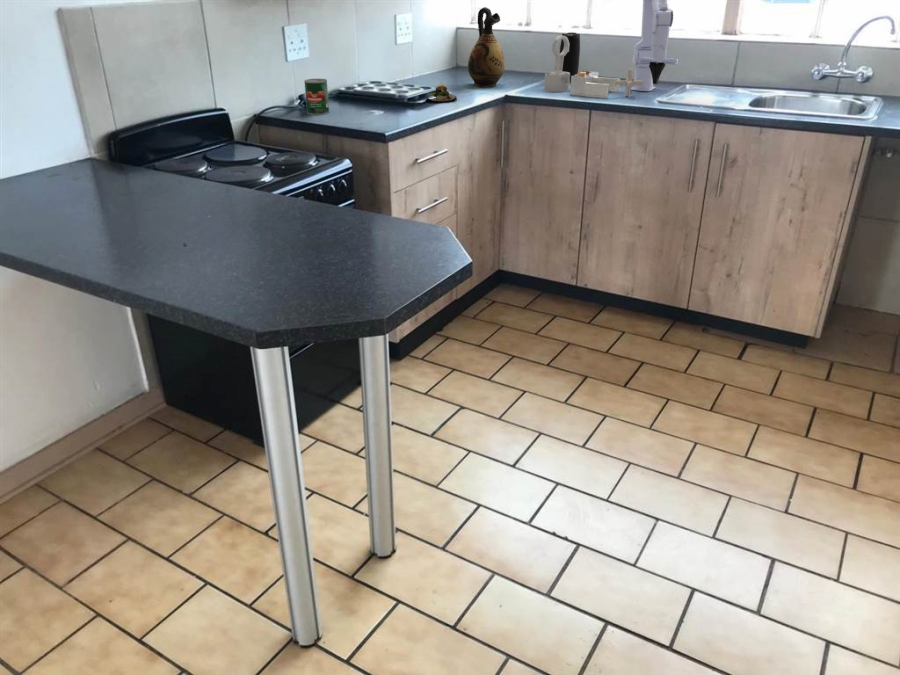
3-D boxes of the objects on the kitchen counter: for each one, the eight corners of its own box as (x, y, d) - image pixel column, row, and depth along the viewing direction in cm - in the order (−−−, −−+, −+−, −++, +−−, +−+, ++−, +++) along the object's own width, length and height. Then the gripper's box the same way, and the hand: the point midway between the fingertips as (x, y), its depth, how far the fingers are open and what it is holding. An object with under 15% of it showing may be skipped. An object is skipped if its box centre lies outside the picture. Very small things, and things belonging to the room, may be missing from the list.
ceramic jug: (511, 86, 312) (514, 8, 298) (482, 89, 304) (483, 10, 290) (487, 80, 324) (488, 5, 310) (458, 84, 316) (458, 7, 302)
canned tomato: (310, 115, 261) (307, 82, 256) (304, 111, 267) (301, 79, 262) (332, 113, 264) (329, 81, 258) (326, 109, 270) (323, 77, 265)
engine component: (539, 89, 304) (557, 92, 298) (541, 35, 295) (560, 37, 288) (556, 86, 311) (575, 89, 304) (560, 33, 301) (579, 35, 294)
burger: (420, 102, 282) (420, 82, 278) (432, 97, 292) (432, 77, 288) (450, 104, 278) (450, 84, 274) (461, 99, 288) (461, 79, 284)
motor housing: (583, 88, 305) (584, 67, 301) (619, 91, 299) (621, 70, 295) (569, 95, 292) (570, 73, 289) (606, 98, 286) (608, 76, 282)
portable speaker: (556, 81, 321) (559, 34, 312) (560, 78, 329) (563, 31, 320) (575, 82, 319) (578, 34, 310) (579, 79, 326) (582, 32, 317)
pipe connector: (639, 94, 294) (642, 67, 289) (642, 98, 285) (645, 71, 280) (613, 93, 295) (616, 67, 290) (616, 98, 286) (618, 71, 281)
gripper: (637, 45, 277) (633, 83, 283) (676, 47, 271) (671, 86, 277) (642, 43, 282) (638, 81, 289) (681, 45, 276) (676, 83, 282)
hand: (655, 83), depth 283 cm, fingers closed
